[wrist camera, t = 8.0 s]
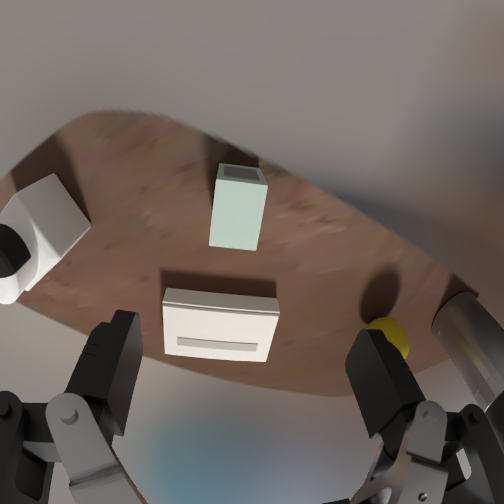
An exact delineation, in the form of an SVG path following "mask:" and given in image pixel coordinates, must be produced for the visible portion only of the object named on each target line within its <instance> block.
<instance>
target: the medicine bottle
mask: <svg viewBox="0 0 504 504" xmlns="http://www.w3.org/2000/svg"><path fill="white" fill-rule="evenodd" d="M90 228H91V223H90V222H89V221H88V219H87V218H86V217H85V215H84V214H83V213H82V211H81V210H80V209H79V207H78V206H77V204H76V203H75V202H74V200H73V199H72V197H71V196H70V195H69V193H68V192H67V190H66V189H65V187H64V186H63V184H62V183H61V181H60V180H59V178H58V177H57V175H56V174H54V173H53V174H51V175H49V176H47V177H45V178H43V179H41V180H39V181H37V182H35V183H33V184H31V185H29V186H28V187H26V188H24V189H22V190H20V191H19V192H17V193H15V194H14V195H13V196H12V198H11V199H10V200H9V202H8V203H7V205H6V206H5V208H4V209H3V211H2V212H1V214H0V303H1V304H11V303H13V302H14V301H15V300H16V299H17V298H18V297H19V295H20V294H21V293H22V292H23V291H24V289H25V290H26V291H29V290H30V289H31V288H32V287H33V286H34V285H35V284H36V283H37V282H38V281H39V280H40V279H41V278H42V277H43V276H44V275H45V274H46V273H47V272H48V271H49V270H50V269H51V268H52V267H54V266H55V265H56V264H57V263H58V262H59V261H60V260H61V259H62V258H63V257H64V256H65V254H66V253H67V252H68V251H69V250H70V249H71V248H72V247H73V246H74V245H75V244H76V242H77V241H78V240H79V239H80V238H81V237H82V236H83V235H84V234H85V233H86V232H87V231H88V230H89V229H90Z"/></svg>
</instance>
